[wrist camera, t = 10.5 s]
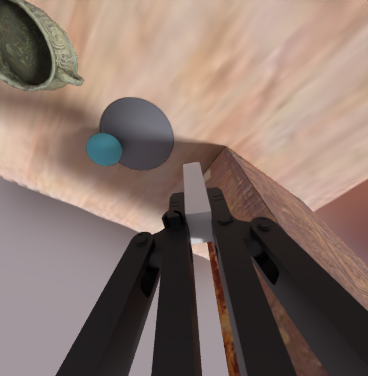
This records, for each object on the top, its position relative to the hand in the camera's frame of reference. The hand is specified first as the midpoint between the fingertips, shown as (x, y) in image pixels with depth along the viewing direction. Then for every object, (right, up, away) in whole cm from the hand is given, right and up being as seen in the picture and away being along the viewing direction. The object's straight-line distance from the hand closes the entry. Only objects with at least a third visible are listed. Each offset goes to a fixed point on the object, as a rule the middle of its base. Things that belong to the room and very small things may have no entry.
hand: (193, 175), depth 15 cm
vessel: (-20, +18, +7) cm, 28 cm away
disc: (-9, +8, +14) cm, 19 cm away
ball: (-14, +5, +12) cm, 20 cm away
